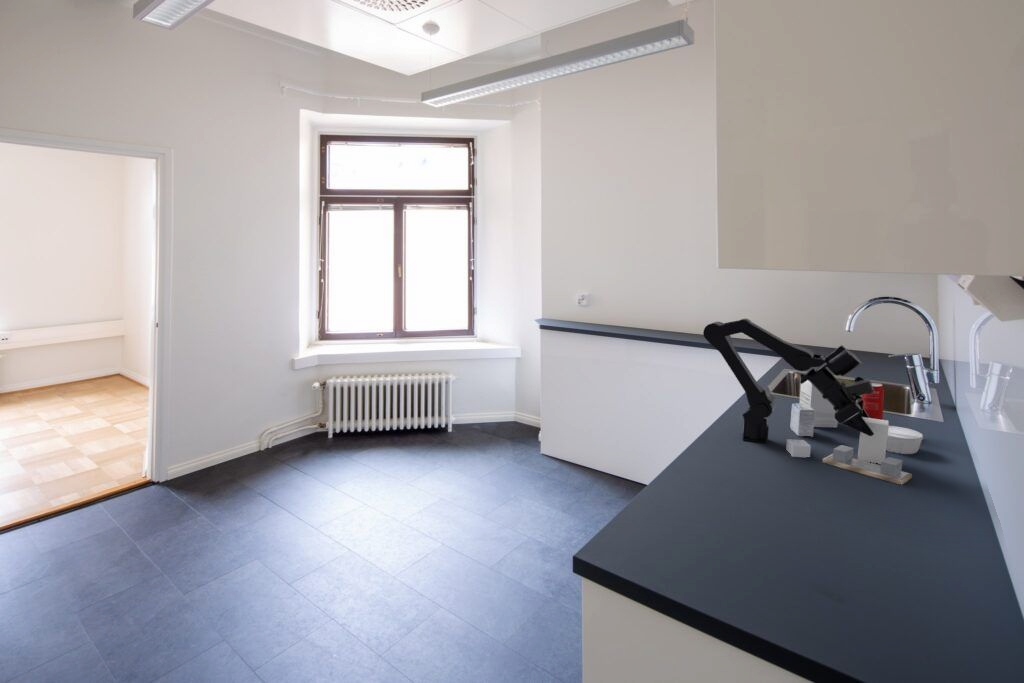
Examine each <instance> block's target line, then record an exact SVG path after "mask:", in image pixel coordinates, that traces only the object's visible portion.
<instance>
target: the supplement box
mask: <svg viewBox="0 0 1024 683" xmlns="http://www.w3.org/2000/svg"><path fill="white" fill-rule="evenodd" d="M799 403H801V404H807V405H808V406H810V407H811V408H812V409H814V410H815V418H814V428H833V429H835V428H836V429H837V428H838V424H839V422H838V421H837V420H836V419H835V410H834V409H833V407H834V406H833V405H832V404H831V403H830V402H829V401H828V400H827V399H824V398H823V397H822V394H821V393H820V392H819V391H818V390H817V389H816V388H815V387H814V386H813V385H812V384H811V383H810V382H809V381H808V380H807V381H806V382H804V383H803V384H801V383H800V394H799Z"/></svg>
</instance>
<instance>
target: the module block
mask: <svg viewBox="0 0 1024 683" xmlns="http://www.w3.org/2000/svg"><path fill="white" fill-rule="evenodd" d="M863 419H864V420H865V421H866V423H867V424H868V426H869V427H870V429H871V430H872V431H873V433H874V435H872V436H869V435H866V434H864V433H862V432H860V431H859V442H858V451H857V459H858V460H862V461H865V462H869V463H870V462H871V463H873V464H876V463H878V464H877V465H881V461H883V460H884V459H886V452H887V451H886V445H887V437H888V428H889V426H890V423H889V420H888V419H887V420H886V419H883V420H880V419H873V418H866V417H863Z"/></svg>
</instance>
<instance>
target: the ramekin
mask: <svg viewBox="0 0 1024 683" xmlns="http://www.w3.org/2000/svg"><path fill="white" fill-rule="evenodd" d="M922 440H924V435H923V433H921V432H919V431H917V430H914V429H911V428H908V427H901V426H896V425H889V428H888V437H887V445H886V450H887V451H886V452H890V453H894V452H895V454H899V453H900V454H901V455H913V454H916V453H917V452H918V451H919V449H920V446H921V444H922Z"/></svg>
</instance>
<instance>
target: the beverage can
mask: <svg viewBox="0 0 1024 683" xmlns="http://www.w3.org/2000/svg"><path fill="white" fill-rule="evenodd" d="M871 384H872V386H873V389H874V392H873V393H870V394H867V393H866V394H863V395H862V398H863V408H864V409H865V411H866V413H867V414H868V416H869V417H870V418H873V419H880V420H884V397H885V396H884V392H885V389H884V386H883V384H882V383H880V382H879V383H877V382H871ZM862 398H861V399H862Z"/></svg>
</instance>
